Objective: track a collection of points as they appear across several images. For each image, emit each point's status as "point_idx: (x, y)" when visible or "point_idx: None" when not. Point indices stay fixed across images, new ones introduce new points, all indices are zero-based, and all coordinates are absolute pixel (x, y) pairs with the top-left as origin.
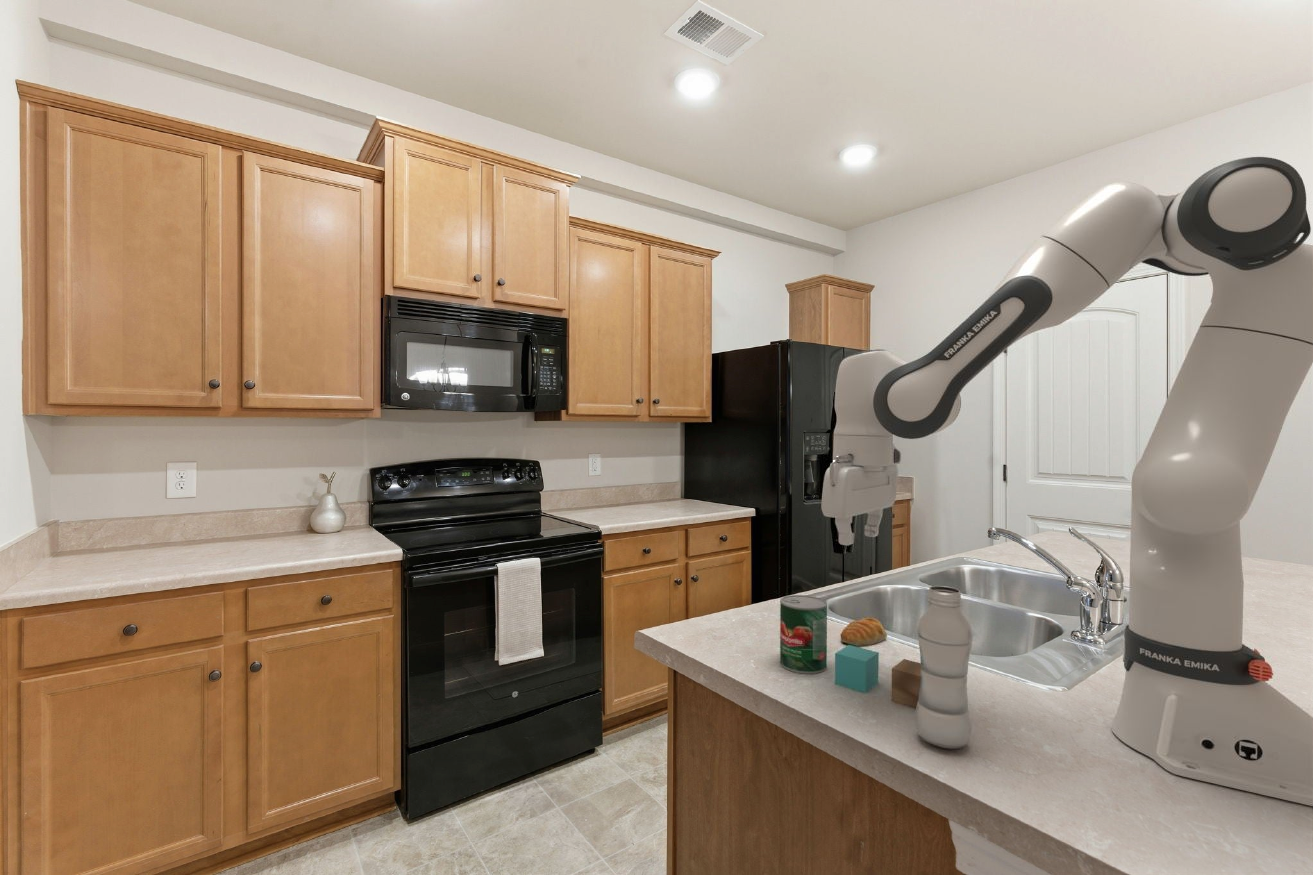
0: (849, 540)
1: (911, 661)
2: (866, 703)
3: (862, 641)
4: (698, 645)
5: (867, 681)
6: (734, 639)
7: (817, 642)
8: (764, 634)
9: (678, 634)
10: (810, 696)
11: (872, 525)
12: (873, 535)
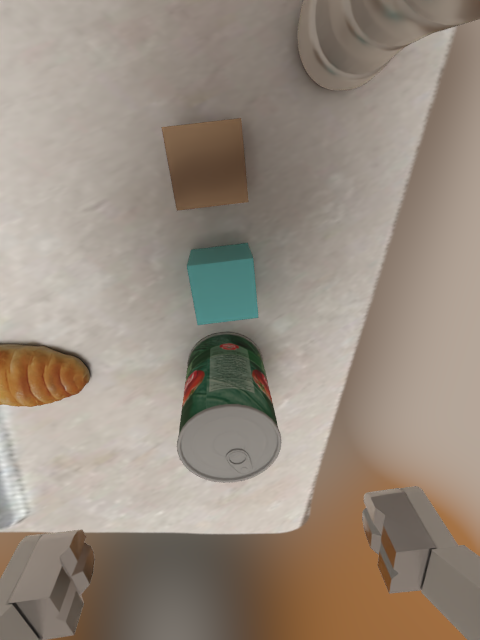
0: (431, 507)
1: (177, 191)
2: (283, 220)
3: (65, 356)
4: (280, 479)
5: (240, 248)
6: None
7: (241, 362)
8: (169, 461)
9: (268, 512)
10: (322, 293)
11: (24, 621)
12: (77, 538)
